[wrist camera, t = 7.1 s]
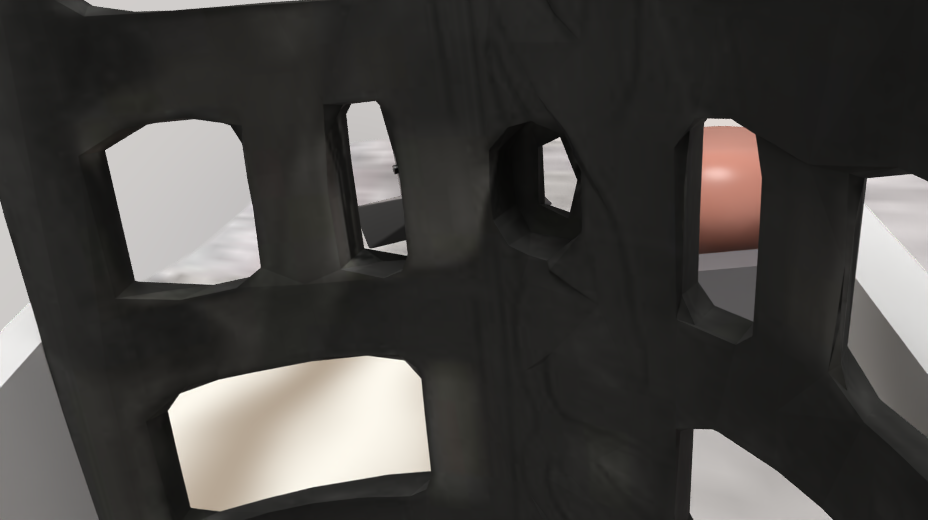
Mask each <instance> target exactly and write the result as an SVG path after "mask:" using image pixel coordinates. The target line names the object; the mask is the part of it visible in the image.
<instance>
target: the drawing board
mask: <svg viewBox="0 0 928 520" xmlns="http://www.w3.org/2000/svg"><path fill="white" fill-rule="evenodd" d="M168 413H169V418H170V422H171V427H172V431H173V436H174V440H175V444H176V449H177V453H178V457H179V461H180V465H181V470H182V474H183V478H184V482H185V486H186V490H187V494H188V498H189V502H190V507H191V508H197V509H205V510H213V511H223V510H227V509H230V508H234V507H237V506H241V505H244V504H248V503H252V502H255V501H259V500H262V499H266V498H270V497H274V496H278V495H283V494H287V493H291V492H295V491H299V490H303V489H307V488H312V487H317V486H323V485H329V484H335V483H341V482H347V481H353V480H359V479H364V478H370V477H376V476H382V475H388V474H400V473H412V472H424V471H431V467H430V458H429V449H428V440H427V431H426V422H425V413H424V402H423V392H422V381H421V378H420V377H419V376H418V375H417V374H416V372H415V371H414V370H413V369H412V368H411V367H410V366H409V365H408V364H407V363H406V362H405V361H404V360H396V359H388V358H380V357H373V356H360V357H350V358H341V359H331V360H322V361H312V362H306V363H301V364H296V365H291V366H285V367H280V368H275V369H270V370H265V371H259V372H254V373H249V374H244V375H239V376H234V377H230V378H225V379H220V380H217V381H214V382H211V383H208V384H205V385H203V386H200V387H197V388H194V389H192V390H189V391H186V392H183V393H180V394H179V396H178V397H177V399H176V400H175V401H174V403H173V404H172V406H171V407H170V409H169V410H168Z"/></svg>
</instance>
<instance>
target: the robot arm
mask: <svg viewBox="0 0 928 520" xmlns="http://www.w3.org/2000/svg"><path fill="white" fill-rule="evenodd" d="M848 348H849V349H850V351H851V353H852V354H853V356H854V357H855V359H856V361H857V362H858V364H859V366H860V367H861V369H862V370H863V372H864V374H865V375H866V377H867V379H868V380H869V382H870V383H871V385H872V387H873V388H874V390H875V392H876V393H877V395H878V397H879V398H880V400H882V401H883V402H884V403H885V404H887V405H888V406H889V407H890V408H892V409H893V410H894V411H895V412H896V413H898V414H899V415H900V416H901V417H903V418H904V419H905V420H906V421H908V422H909V423H910V424H911V425H913V426H914V427H915V428H916V429H917V430H919V431H920V432H921V433H922V434H924V435H925V436H926V437H927V438H928V272H927V271H926V270H925V269H924V268H923V267H922V266H921V265H920V264H919V262H918V261H917V260H916V259H915V258H914V257H913V256H912V255H911V254H910V253H909V251H908V250H907V249H906V248H905V247H904V246H903V245H902V244H901V243H900V242H899V241H898V239H897V238H896V237H895V236H894V235H893V234H892V233H891V232H890V231H889V230H888V229H887V227H886V226H885V225H884V224H883V223H882V222H881V221H880V220H879V219H878V218H877V216H876V215H875V214H874V213H873V212H872V211H871V210H870V209H869V208H868V207H867V206H866V204H865V203H864V208H863V216H862V225H861V234H860V242H859V251H858V260H857V268H856V277H855V286H854V294H853V303H852V311H851V320H850V329H849V337H848ZM0 520H99V519H98V516H97V513H96V510H95V507H94V504H93V501H92V498H91V495H90V492H89V489H88V486H87V483H86V480H85V477H84V475H83V472H82V469H81V466H80V463H79V460H78V457H77V454H76V451H75V448H74V445H73V442H72V439H71V436H70V433H69V430H68V427H67V424H66V421H65V418H64V415H63V412H62V408H61V405H60V402H59V398H58V395H57V392H56V389H55V385H54V382H53V379H52V376H51V372H50V369H49V366H48V363H47V359H46V356H45V353H44V349H43V345H42V342H41V338H40V334H39V330H38V327H37V323H36V320H35V316H34V313H33V310H32V306H31V303H30V302H29V303H28V304H27V305H26V306H25V307H24V308H23V309H22V310H21V311H20V312H19V313H18V315H16V316H15V317H14V318H13V319H12V320H11V321H10V322H9V324H8V325H6V326H5V327H4V328H3V329H2V330H1V331H0Z"/></svg>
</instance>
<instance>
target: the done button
mask: <svg viewBox="0 0 928 520" xmlns="http://www.w3.org/2000/svg"><path fill="white" fill-rule="evenodd" d="M761 185H762V176H761V169H760V162H759V155H758V148H757V141H756V135H755V134H754V133H752V132H751V131H749V130H748V129H746V128H745V127H731V126H716V127H715V126H714V127H704V134H703V157H702V181H701V205H700V234H699V254H707V253H718V252H729V251H740V250H751V249H758V242H759V227H760V206H761Z"/></svg>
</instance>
